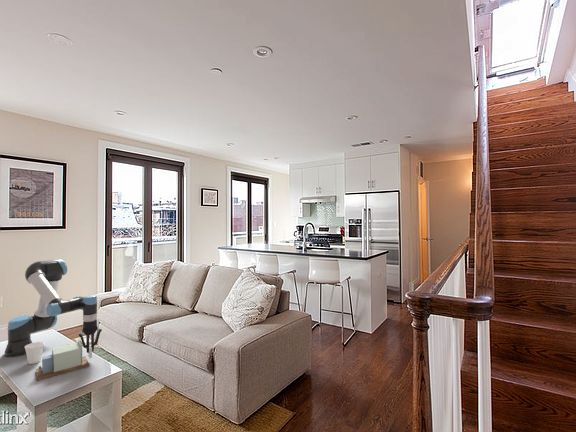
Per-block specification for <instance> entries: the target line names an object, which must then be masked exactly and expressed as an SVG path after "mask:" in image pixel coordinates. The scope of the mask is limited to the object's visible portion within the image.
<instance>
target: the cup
mask: <svg viewBox="0 0 576 432" xmlns="http://www.w3.org/2000/svg"><path fill="white" fill-rule="evenodd" d="M44 346H45V342H44V341H35V342H32V343H31V344H28V345H26V346H25V347H24V348H25V350H26V354H25V355H26V358H27V364H29V365H35V364H38V363H40V362H41V361H42V357H43V356H42V355H43V350H44Z"/></svg>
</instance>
